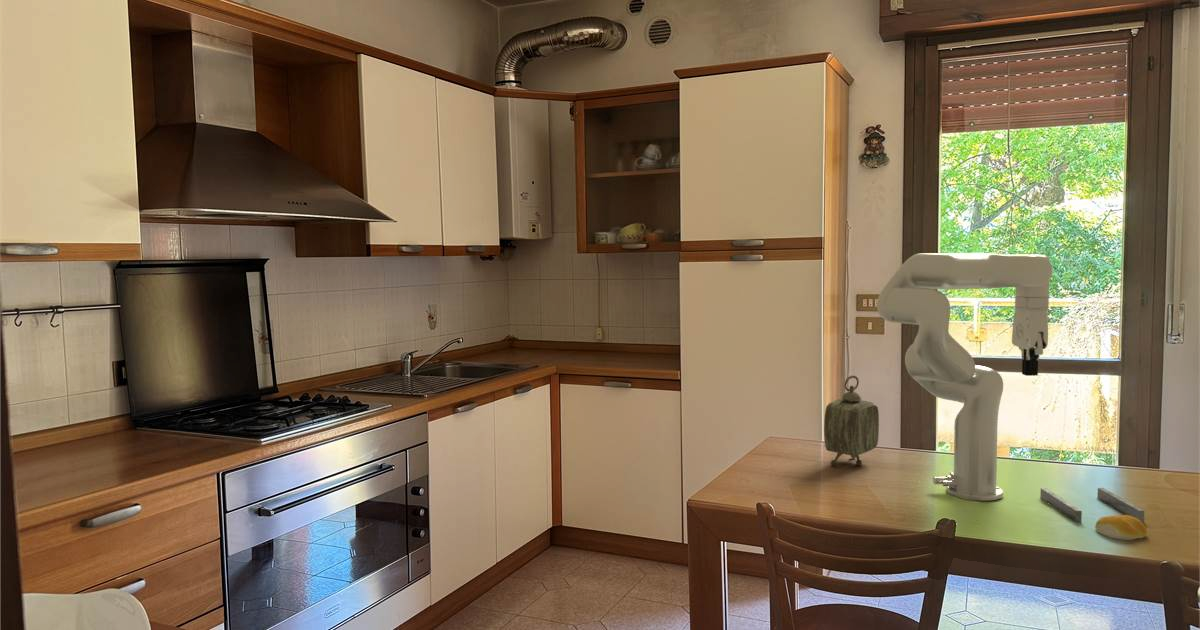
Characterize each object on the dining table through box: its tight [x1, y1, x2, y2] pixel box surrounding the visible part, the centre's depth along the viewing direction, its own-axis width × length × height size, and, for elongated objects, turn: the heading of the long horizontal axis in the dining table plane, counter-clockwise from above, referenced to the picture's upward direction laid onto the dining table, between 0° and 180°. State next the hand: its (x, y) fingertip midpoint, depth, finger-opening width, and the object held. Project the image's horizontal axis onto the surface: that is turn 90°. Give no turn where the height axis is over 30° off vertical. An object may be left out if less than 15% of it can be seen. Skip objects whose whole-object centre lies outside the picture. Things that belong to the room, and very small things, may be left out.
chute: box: [1039, 487, 1145, 523], centre depth 183 cm, size 14×16×2 cm
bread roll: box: [1094, 514, 1148, 541], centre depth 169 cm, size 8×9×4 cm
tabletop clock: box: [823, 375, 880, 467], centre depth 223 cm, size 14×9×25 cm, turn 133°
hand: (1029, 374), depth 205 cm, fingers closed
